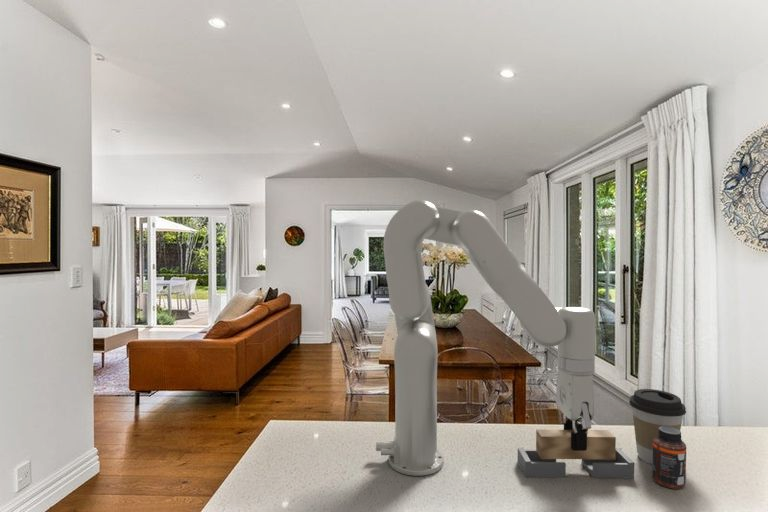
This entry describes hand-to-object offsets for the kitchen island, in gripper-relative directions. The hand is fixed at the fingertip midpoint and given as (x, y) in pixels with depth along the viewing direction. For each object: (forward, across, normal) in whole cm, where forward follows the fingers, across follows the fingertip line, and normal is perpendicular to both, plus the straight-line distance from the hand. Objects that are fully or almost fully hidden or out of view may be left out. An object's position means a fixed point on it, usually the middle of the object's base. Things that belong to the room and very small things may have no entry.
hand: (574, 444), depth 98 cm
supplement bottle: (+6, +4, +18) cm, 19 cm away
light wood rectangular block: (+2, 0, 0) cm, 2 cm away
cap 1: (+6, 0, -8) cm, 9 cm away
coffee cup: (+6, -6, +21) cm, 22 cm away
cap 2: (+6, 0, +7) cm, 9 cm away
